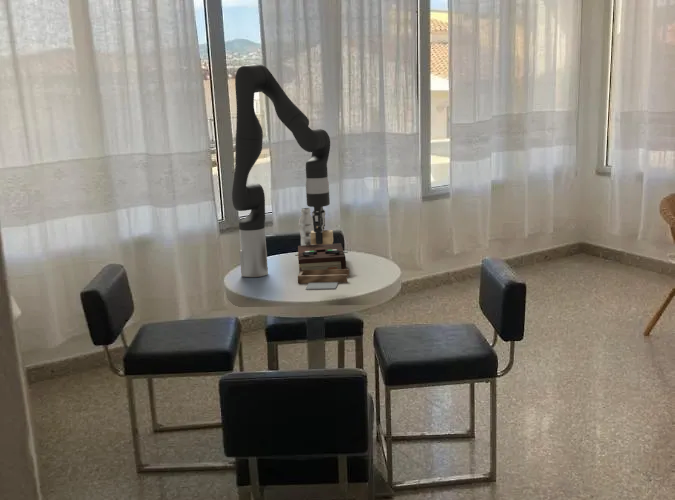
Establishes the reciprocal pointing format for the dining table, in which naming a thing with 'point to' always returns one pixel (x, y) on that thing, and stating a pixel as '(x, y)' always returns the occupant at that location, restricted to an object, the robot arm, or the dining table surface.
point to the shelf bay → (323, 275)
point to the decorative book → (321, 257)
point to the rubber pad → (321, 285)
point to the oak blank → (326, 237)
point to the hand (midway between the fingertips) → (320, 242)
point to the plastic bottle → (306, 226)
